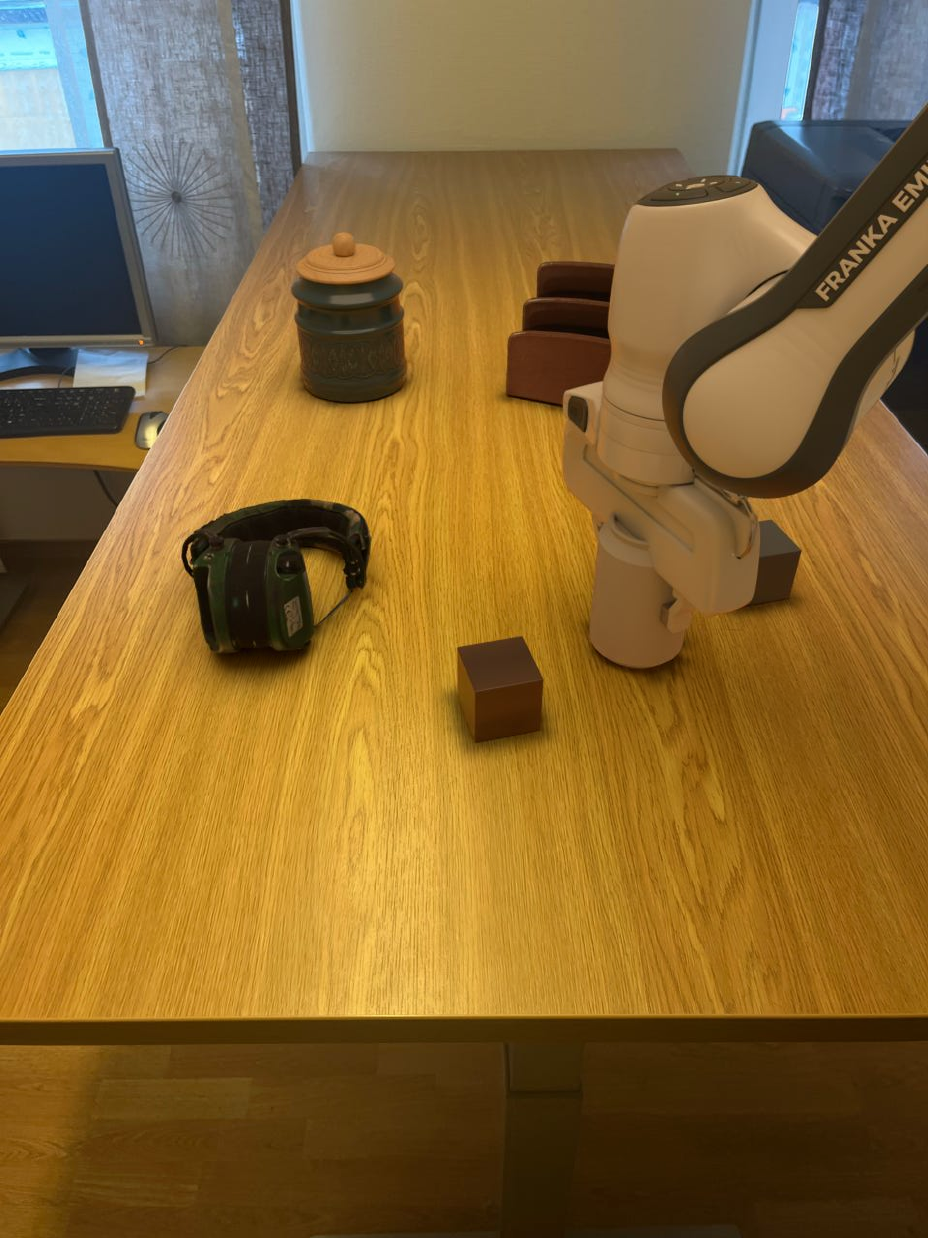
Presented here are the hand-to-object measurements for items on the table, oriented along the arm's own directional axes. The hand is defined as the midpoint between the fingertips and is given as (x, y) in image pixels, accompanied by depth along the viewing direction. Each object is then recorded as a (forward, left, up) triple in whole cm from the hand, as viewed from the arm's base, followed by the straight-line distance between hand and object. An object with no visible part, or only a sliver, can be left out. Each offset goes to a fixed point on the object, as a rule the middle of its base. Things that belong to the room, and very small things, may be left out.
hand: (641, 593), depth 73 cm
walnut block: (-2, +14, -5) cm, 15 cm away
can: (0, 0, -5) cm, 5 cm away
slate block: (+3, -13, -5) cm, 15 cm away
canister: (+58, +4, -5) cm, 58 cm away
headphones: (+18, +25, -5) cm, 31 cm away
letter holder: (+42, -21, -5) cm, 47 cm away
